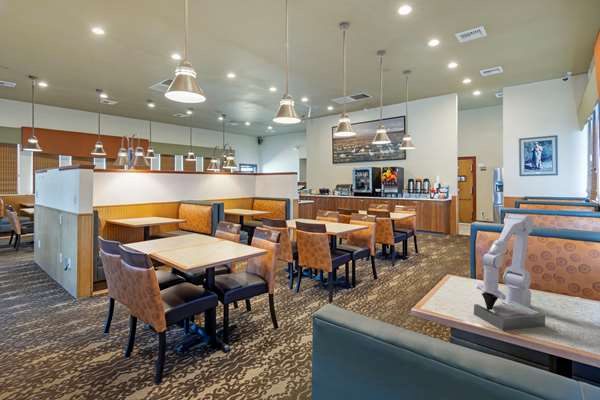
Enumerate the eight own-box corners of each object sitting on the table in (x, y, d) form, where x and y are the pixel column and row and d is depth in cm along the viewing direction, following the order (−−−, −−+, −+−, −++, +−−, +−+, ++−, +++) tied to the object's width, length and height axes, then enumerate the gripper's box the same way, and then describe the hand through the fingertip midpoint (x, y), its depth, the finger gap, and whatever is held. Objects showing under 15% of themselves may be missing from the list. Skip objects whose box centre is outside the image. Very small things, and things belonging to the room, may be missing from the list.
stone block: (510, 327, 129) (531, 321, 130) (508, 316, 129) (529, 310, 130) (489, 316, 141) (509, 310, 142) (487, 306, 141) (507, 300, 142)
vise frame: (512, 310, 142) (512, 301, 142) (544, 325, 127) (545, 315, 127) (473, 314, 138) (474, 304, 138) (502, 330, 123) (503, 319, 123)
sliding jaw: (512, 310, 142) (512, 301, 142) (539, 322, 129) (539, 312, 129) (508, 310, 142) (508, 301, 141) (534, 323, 129) (535, 313, 129)
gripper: (471, 275, 145) (470, 303, 146) (496, 285, 131) (495, 316, 132) (484, 274, 147) (483, 302, 147) (510, 284, 132) (509, 315, 133)
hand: (489, 309), depth 140 cm, fingers closed
